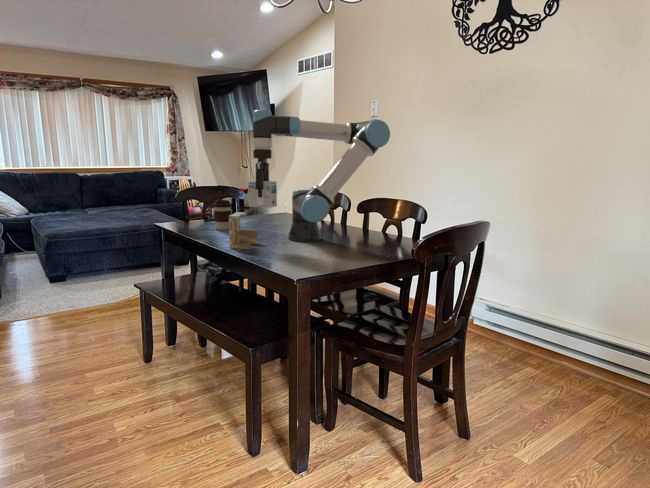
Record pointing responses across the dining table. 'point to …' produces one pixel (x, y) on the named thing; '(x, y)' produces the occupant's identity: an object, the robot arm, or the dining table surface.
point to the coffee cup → (222, 214)
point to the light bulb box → (269, 194)
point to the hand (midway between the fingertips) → (262, 203)
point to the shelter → (240, 233)
